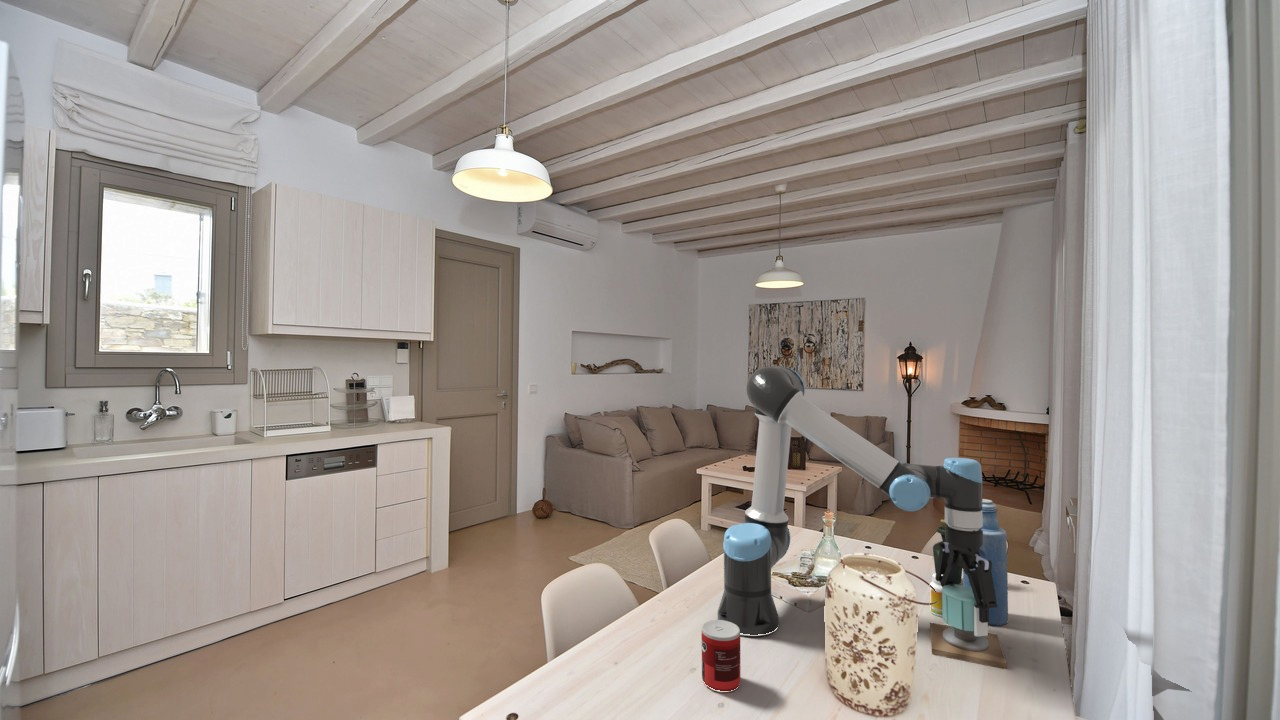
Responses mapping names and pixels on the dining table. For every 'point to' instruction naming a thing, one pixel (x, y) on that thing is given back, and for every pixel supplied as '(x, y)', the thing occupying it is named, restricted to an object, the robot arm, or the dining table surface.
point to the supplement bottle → (936, 596)
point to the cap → (958, 606)
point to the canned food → (721, 655)
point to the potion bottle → (936, 551)
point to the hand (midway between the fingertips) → (964, 625)
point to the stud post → (966, 646)
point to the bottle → (994, 561)
